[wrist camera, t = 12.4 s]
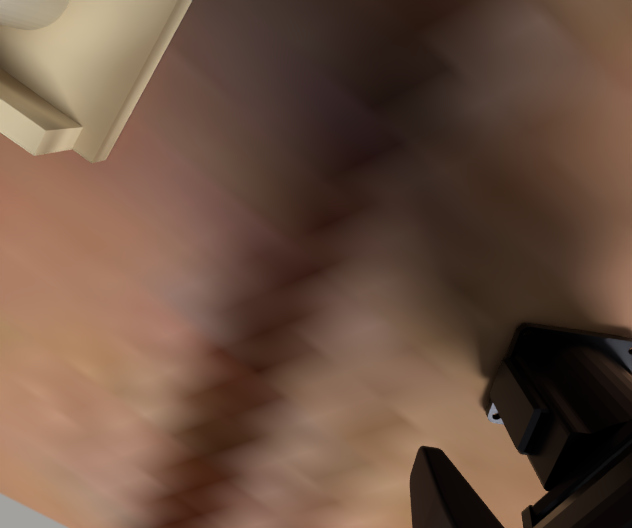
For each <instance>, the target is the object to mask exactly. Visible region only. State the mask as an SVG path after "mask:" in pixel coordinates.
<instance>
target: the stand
mask: <svg viewBox="0 0 632 528" xmlns="http://www.w3.org/2000/svg"><path fill="white" fill-rule="evenodd" d="M191 2H192V0H70V2H69V4H68V6H67V8H66V10H65V11H64V13H63V14H62V15H61V16H60V17H59V18H58V19H57V20H56V21H55V22H54V23H52V24H50V25H48V26H46V27H44V28H41V29H36V30H22V29H16V28H12V27H8V26H4V25H0V132H1V133H2V134H3V135H5V136H6V137H8V138H9V139H11V140H12V141H14V142H15V143H16V144H18V145H19V146H21V147H22V148H24V149H25V150H27V151H28V152H29V153H31V154H32V155H34V156H36V155H42V154H47V153H53V152H59V151H65V150H70V149H72V150H74V151H75V152H77V153H78V154H79V155H81V156H82V157H84V158H85V159H87V160H88V161H89V162H91V163H94V162H99V161H103V160H106V159H107V157H108V155H109V153H110V151H111V150H112V148H113V146H114V144H115V142H116V140H117V139H118V137H119V135H120V133H121V131H122V129H123V127H124V126H125V124H126V122H127V120H128V118H129V116H130V115H131V113H132V111H133V109H134V107H135V105H136V103H137V102H138V100H139V98H140V96H141V94H142V92H143V91H144V89H145V87H146V85H147V83H148V81H149V79H150V78H151V76H152V74H153V72H154V70H155V68H156V67H157V65H158V63H159V61H160V59H161V57H162V55H163V54H164V52H165V50H166V48H167V46H168V44H169V43H170V41H171V39H172V37H173V35H174V33H175V32H176V30H177V28H178V26H179V24H180V22H181V20H182V19H183V17H184V15H185V13H186V11H187V9H188V8H189V6H190V4H191Z"/></svg>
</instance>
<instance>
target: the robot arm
mask: <svg viewBox="0 0 632 528" xmlns="http://www.w3.org/2000/svg"><path fill="white" fill-rule="evenodd" d="M527 331H530V333H529V334H527V335H524V333H525V332H527ZM631 347H632V338H627V337H620V336H613V335H606V334H600V333H593V332H586V331H580V330H573V329H566V328H559V327H553V326H546V325H539V324H533V323H523V324H521V325H520V326H518V328H517V329H516V332H515V334H514V337H513V340H512V342H511V345H510V347H509V350H508V353H507V355H506V357H505V358H504V359H503V360H502V362H501V365H500V367H499V370H498V373H497V375H496V378H495V381H494V383H493V386H492V389H491V391H490V397H491V398H490V400H489V403H488V406H487V408H486V415H487V417H488V419H489V421H490V422H493V423H497V424H504V425H505V427H506V429H507V431H508V433H509V435H510V437H511V439H512V441H513V443H514V445H515V447H516V449H517V450H518V452H519V453H520V454H524V455H527V457H528V459H529V461H530V462H531V464H532V466H533V468H534V470H535V472H536V474H537V476H538V478H539V480H540V482H541V484H542V486H543V487H544V489H545V490H546V491H549V492H548V493H547V494H545V495H544V496H543V497H542V498H541V499H540V500H539V501H538V502H536V503H535V504H534V505H533V506H532V505H529V506H528V507H527V508H526V509H525V510H523V511H522V513H521V514H522V521H523V528H632V349H631V350H629V349H630V348H631ZM495 413H498V414H496V415H493V414H495ZM410 497H411V512H412V526H413V528H504V527H503V526H502V524H501V523H500V522H499V521H498V519H497V518H496V517H495V516H494V514H493V513H492V512H491V511H490V509H489V508H488V507H487V506H486V504H485V503H484V502H483V501H482V499H481V498H480V497H479V496H478V494H477V493H476V492H475V491H474V489H473V488H472V487H471V486H470V484H469V483H468V482H467V481H466V480H465V478H464V477H463V476H462V475H461V473H460V472H459V471H458V470H457V468H456V467H455V466H454V465H453V463H452V462H451V461H450V460H449V458H448V457H447V456H446V455H445V453H444V452H443V451H442V450H441V449H439V448H434V447H427V446H421V447H420V448H419V450H418V452H417V455H416V459H415V462H414V465H413V468H412V471H411V475H410Z"/></svg>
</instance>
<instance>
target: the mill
mask: <svg viewBox="0 0 632 528" xmlns="http://www.w3.org/2000/svg"><path fill="white" fill-rule="evenodd" d="M69 2H70V0H0V25H4V26H8V27H12V28H16V29H22V30H36V29H41V28H44V27H46V26H48V25H50V24H52V23H54V22H55V21H56V20H57V19H58V18H59V17H60V16H61V15H62V14H63V13H64V11H65V10H66V8H67V6H68V4H69Z"/></svg>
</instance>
